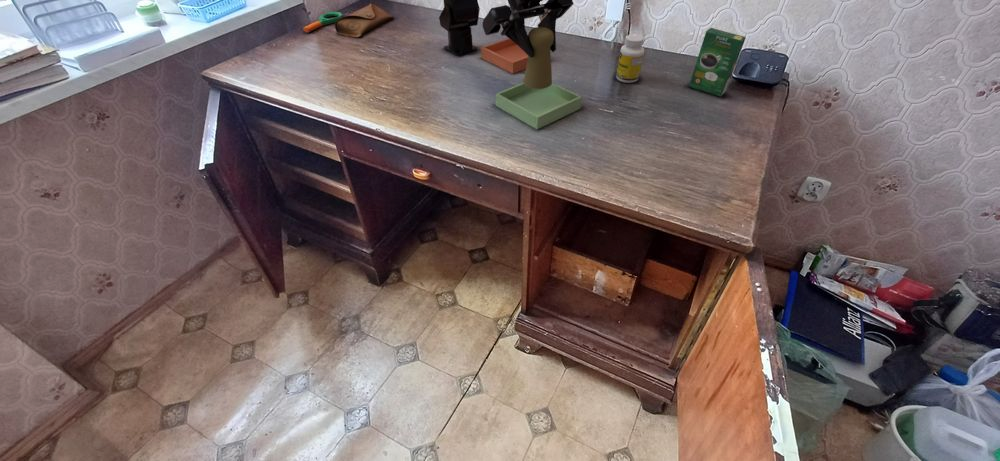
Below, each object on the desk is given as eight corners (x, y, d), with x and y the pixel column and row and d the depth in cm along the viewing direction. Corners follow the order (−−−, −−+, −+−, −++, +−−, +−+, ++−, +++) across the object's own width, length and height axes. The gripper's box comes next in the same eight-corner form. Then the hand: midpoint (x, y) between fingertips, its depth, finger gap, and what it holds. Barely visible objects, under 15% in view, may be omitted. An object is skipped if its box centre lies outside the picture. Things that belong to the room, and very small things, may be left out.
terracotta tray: (481, 58, 121) (481, 47, 119) (516, 45, 127) (516, 35, 125) (512, 73, 114) (513, 62, 112) (548, 60, 120) (549, 49, 118)
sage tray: (495, 105, 103) (495, 93, 101) (538, 87, 109) (539, 76, 107) (537, 129, 95) (537, 117, 94) (580, 108, 102) (582, 96, 100)
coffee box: (726, 93, 107) (747, 35, 98) (722, 98, 105) (742, 39, 96) (692, 83, 110) (709, 26, 101) (687, 87, 109) (704, 30, 100)
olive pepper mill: (522, 75, 101) (524, 23, 93) (550, 75, 101) (554, 23, 94) (525, 89, 97) (527, 35, 89) (553, 88, 97) (558, 35, 89)
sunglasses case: (360, 36, 130) (345, 13, 127) (345, 46, 134) (331, 24, 131) (395, 16, 142) (383, -6, 139) (381, 25, 146) (368, 4, 143)
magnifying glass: (330, 14, 144) (329, 9, 143) (347, 17, 143) (345, 11, 142) (298, 32, 134) (296, 25, 133) (315, 34, 133) (314, 28, 131)
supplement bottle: (611, 75, 114) (618, 34, 107) (631, 72, 115) (639, 31, 108) (622, 85, 110) (630, 43, 103) (642, 81, 111) (651, 40, 104)
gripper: (489, -40, 82) (521, 45, 83) (573, -54, 89) (602, 25, 90) (469, -4, 92) (498, 71, 93) (546, -19, 99) (572, 50, 100)
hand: (543, 53), depth 94 cm, fingers closed on olive pepper mill, 5 cm apart
